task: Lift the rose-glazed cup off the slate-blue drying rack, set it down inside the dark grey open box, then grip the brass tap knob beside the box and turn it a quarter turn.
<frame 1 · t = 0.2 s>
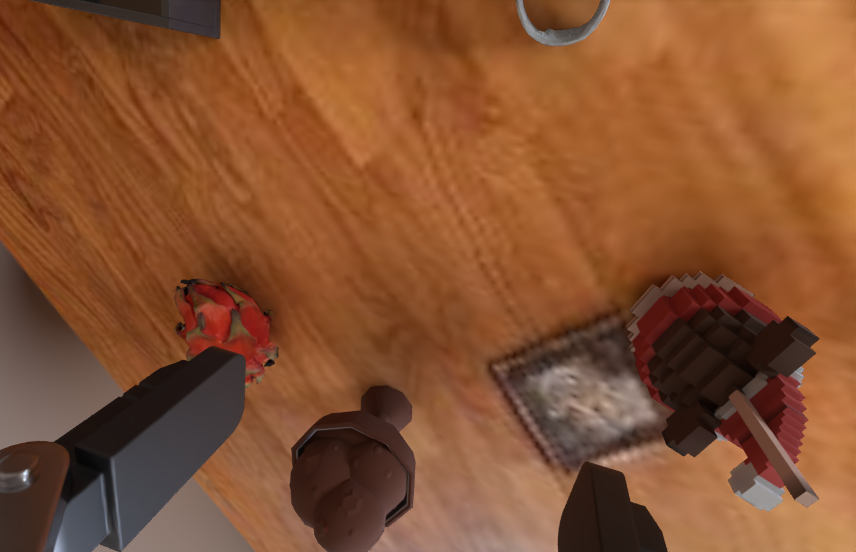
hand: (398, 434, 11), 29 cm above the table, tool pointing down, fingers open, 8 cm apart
dragon fruit: (247, 314, 47), on the table
cake: (688, 323, 37), on the table
ice cream bowl: (386, 407, 47), on the table
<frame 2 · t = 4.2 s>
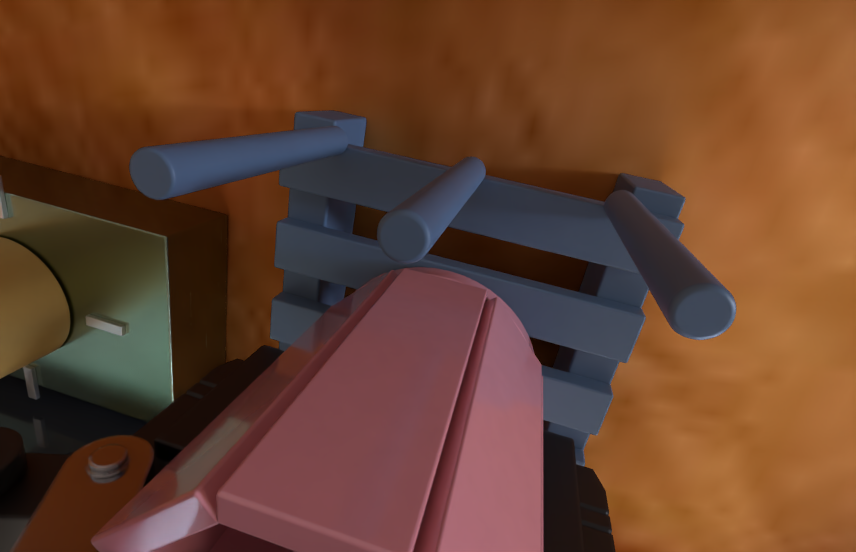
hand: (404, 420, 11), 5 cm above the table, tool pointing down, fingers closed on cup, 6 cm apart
drying rack: (448, 320, 16), on the table
cup: (429, 365, 13), point 3 cm above the table, touching drying rack, gripper
dark grey open box: (116, 476, 23), on the table
tap panel: (94, 268, 19), on the table
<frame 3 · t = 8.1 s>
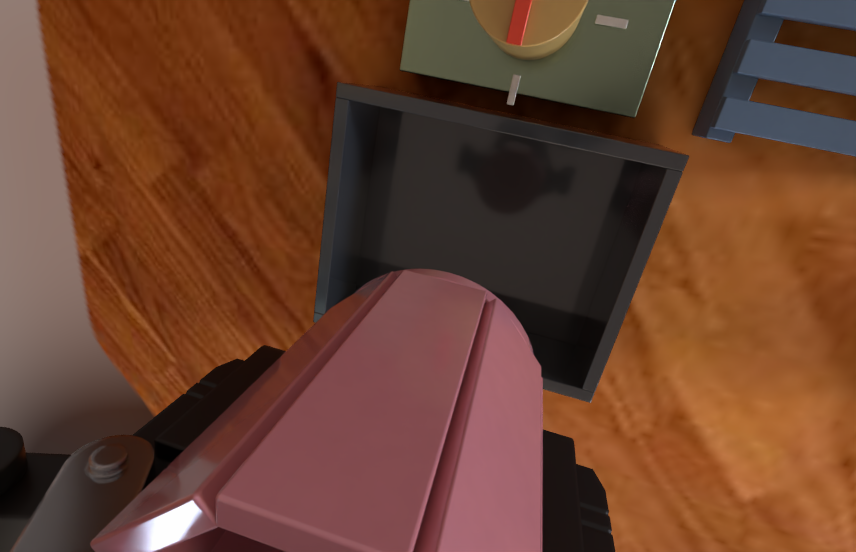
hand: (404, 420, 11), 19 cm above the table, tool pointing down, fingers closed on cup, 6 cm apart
drying rack: (854, 25, 22), on the table
cup: (428, 366, 13), point 17 cm above the table, touching gripper
dark grey open box: (484, 225, 29), on the table
tap panel: (534, 19, 24), on the table
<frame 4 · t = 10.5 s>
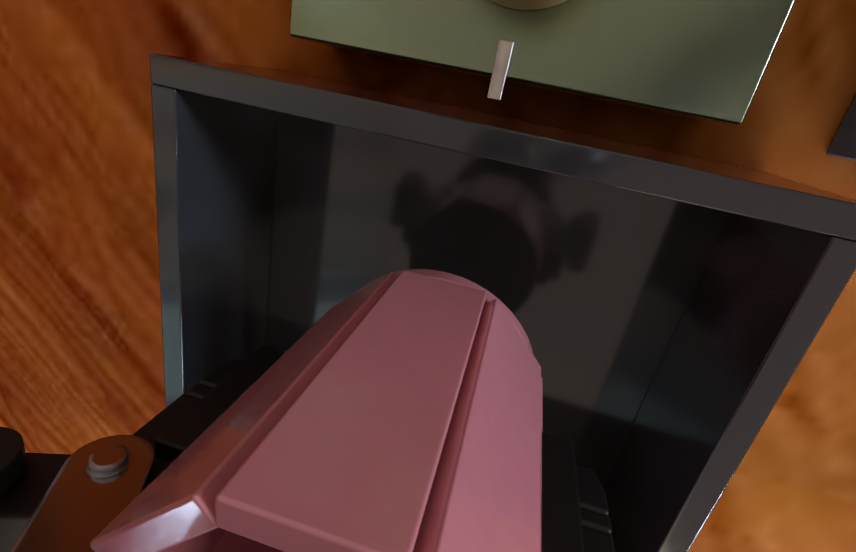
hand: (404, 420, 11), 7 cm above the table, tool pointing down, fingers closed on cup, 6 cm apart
cup: (428, 367, 13), point 5 cm above the table, touching gripper
dark grey open box: (456, 296, 18), on the table
when the fingers open (3 cm above the table, at t = 12.3 s): cup stays where it is, resting on dark grey open box.
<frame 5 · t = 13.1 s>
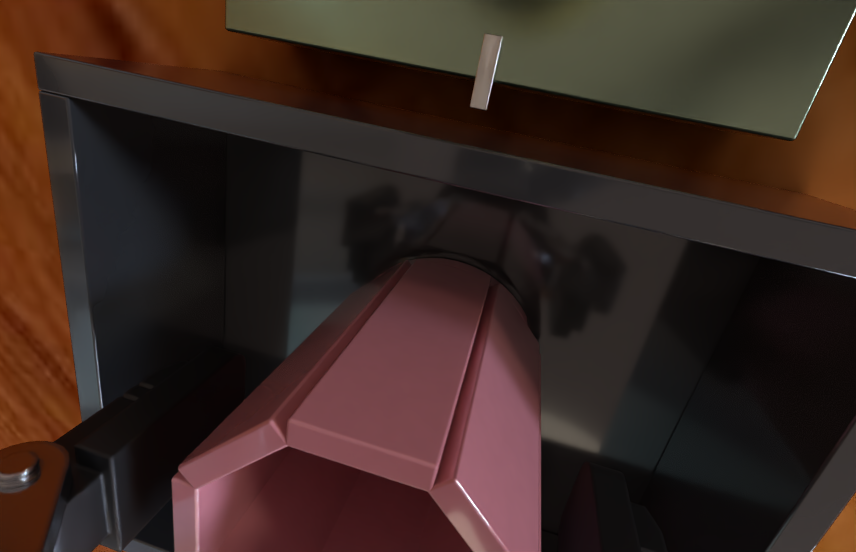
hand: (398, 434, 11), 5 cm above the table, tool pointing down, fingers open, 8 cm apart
cup: (438, 347, 15), point 1 cm above the table, touching dark grey open box
dark grey open box: (440, 336, 15), on the table
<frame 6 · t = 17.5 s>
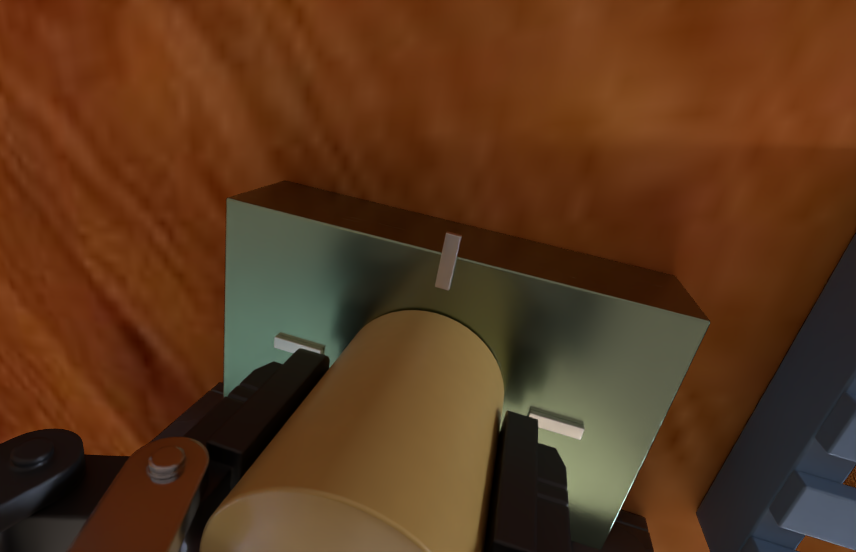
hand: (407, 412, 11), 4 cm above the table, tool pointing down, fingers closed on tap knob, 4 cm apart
tap knob: (385, 468, 10), point 6 cm above the table, hinge at 0.1°, touching gripper
tap panel: (443, 332, 15), on the table
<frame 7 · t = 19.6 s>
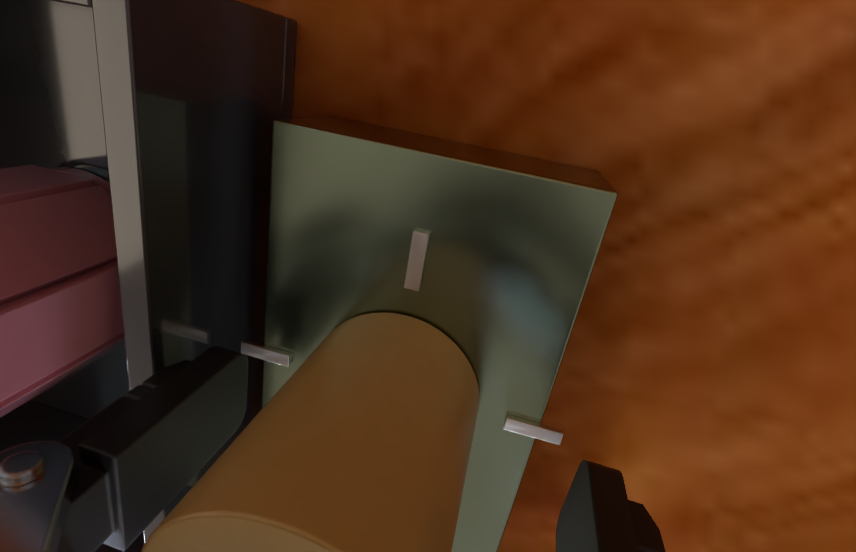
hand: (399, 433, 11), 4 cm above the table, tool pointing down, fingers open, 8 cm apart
tap knob: (348, 481, 9), point 6 cm above the table, hinge at 90.5°
cup: (91, 256, 16), point 1 cm above the table, touching dark grey open box
dark grey open box: (107, 250, 16), on the table
tap panel: (421, 334, 15), on the table
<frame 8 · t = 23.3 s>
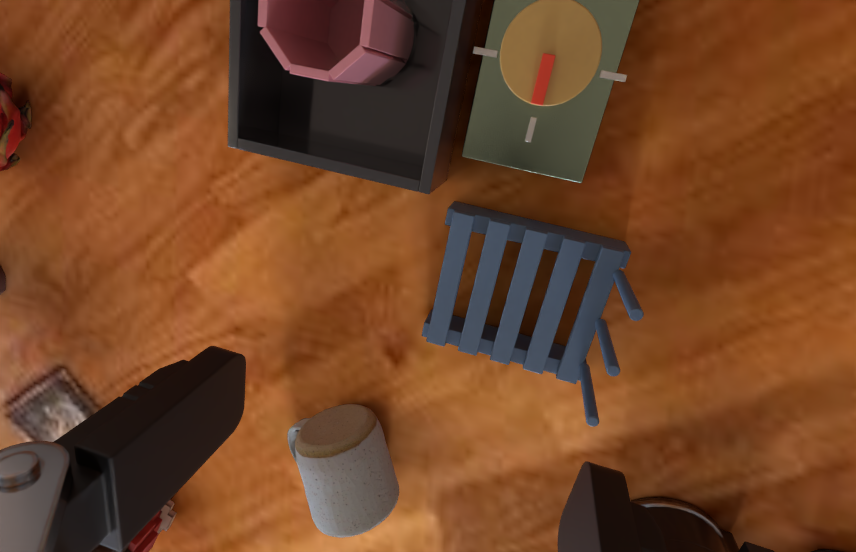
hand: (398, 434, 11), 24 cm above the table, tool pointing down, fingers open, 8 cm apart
dragon fruit: (8, 118, 39), on the table
cake: (144, 491, 53), on the table
drying rack: (519, 285, 34), on the table
tap knob: (548, 59, 23), point 6 cm above the table, hinge at 90.5°
cup: (369, 34, 30), point 1 cm above the table, touching dark grey open box
dark grey open box: (373, 34, 30), on the table
tap panel: (547, 67, 29), on the table
ceramic mug: (350, 437, 43), on the table
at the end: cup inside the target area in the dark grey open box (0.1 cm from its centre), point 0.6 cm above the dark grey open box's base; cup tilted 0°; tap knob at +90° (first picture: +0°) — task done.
